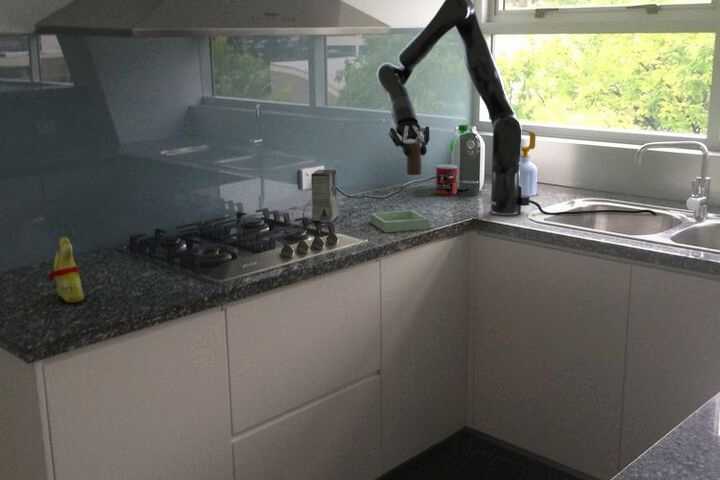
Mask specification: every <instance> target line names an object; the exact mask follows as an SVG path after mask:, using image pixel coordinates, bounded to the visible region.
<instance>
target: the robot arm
mask: <svg viewBox="0 0 720 480" xmlns="http://www.w3.org/2000/svg"><path fill="white" fill-rule="evenodd" d="M453 28H455V29H456V32H457V34H458V36H459V39H460V41H461V42H460V43H461V46H462V52H463V57H464V62H465V63H464V64H465V65H466V69H467V72H468V74H469V77H470V79H471V81H472V83H473V86H474V87H475V90H476V91H477V93H478V95H479V96H480V98H481V100H482V101H483V104H484V105H485V108H486V109H487V112H488V115H489V118H490V122H491V125H492V154H491V193H490V200H489V203H490V214H492V215H495V216H505V217H506V216H515V215H521V213H522V206H523V207H524V206H525V207H526V206H530V204H533V205H534V206H536V207H537V208H538V210H539V212H540V213H542V214H544V215H550V216H559V215H580V214H582V215H583V214H599V213H602V214H603V213H604V214H605V213H619V214H641V213H642V214H643V213H650V214H652V215H653V216H658V215H657V213H656V212H655V211H653V210H651V209H639V210H627V209H626V210H625V209H597V210H596V209H594V210H579V211H577V210H576V211H558V212H556V211H555V212H549V211H545V210H543V208H542V206H541V205H540V204H539V202H537V201H534V200H531V199H530V196H528V197H527V196H525V195H521V191H522V186H521V185H519V178H520V161H521V155H522V149H521V147H522V135H523V134H522V133H523V131H522V130H523V128H522V124H521V122H520V120H519V118H518V116H517V115H516V113H515V111H514V110H513V108H512V106H511V104H510V102H509V99H508V98H507V94H506V91H505V87H504V83H503V80H502V76H501V73H500V70H499V67H498V65H497V63H496V60H495V57H494V55H493V53H492V52H491V51H492V50H491V49H490V47H489V45H488V42H487V40H486V38H485V36H484V34H483V32H482V29H481V26H480V23H479V19H478V16H477V13H476V9H475V7H474V3H473V1H472V0H444V2H443V3H442V4H441V6H440V8H438V11H436V13H435V15H434V16H433V17H432V19H430V21H429V22H428V23H427V24H426V26H425V27H424V28H423V29H422V30H421V31H420V32H419V33H418V34H417V35H416V36H415V37H414V38H412V40H411V41H410V42H409V43H408V44H407V45H405V47H404V48H403V49H402V50H400V52H399V54H398V55H397V60H398V61H399V63H400V66H399V67H398V66H396V65H394V64H392V63H390V62H384V63H382V64H380V65H379V67H378V68H377V71H376V77H377V81H378V84H379V86H380V87H381V89H382V90H383V92H384V93H385V95H386V96H387V101H388V103H389V107H390V112H391V116H392V119H393V122H394V125H395V128H393V127H391V128H390V129H389V132H388V135H389V136H388V137H390V139H391V141H392V143H393V144H394V146H395V147H400V148H402V152H403V154H404V156H406V157H407V156H409V155H410V151H409V147H408V144H407V143H408V142H407V140H413V142H420V143H422V157H423V156H425V155H426V154H427V152H428V149H427V146H428V144H429V141H430V127H429V126H425V127H423V126H421V125H420V124H419V120H418V117H417V114H416V110H415V107H414V105H413V102H412V100H411V98H410V95H409V91H408V89H407V88H406V86H405V85H406V84H407V82H408V80H409V79H410V77H411V76H412V73H413V72H414V70H415V68H416V67H417V66H418V65H419V64H420V63H421V62H422V61H423V60H424V59H425V58H426V57H427V56H428V54H430V52H431V51H432V50H433V48H434V47H435V46H436V44H437V43H438V42H439V41H440V40H441V39H442V38H443V37H444V36H445V35H446V34H447V33H448V32H450V31H451V30H453ZM400 137H401V138H400Z"/></svg>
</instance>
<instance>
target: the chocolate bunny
mask: <svg viewBox="0 0 720 480" xmlns="http://www.w3.org/2000/svg"><path fill="white" fill-rule="evenodd" d="M74 259H75V258H74V256H73V245H72V243H71V241H70V239H69V238H68V237H67V236H63V237H62V236H61V238H60V239H59V243H58V249H57V251H56V253H55V256H54V260H53V270H51V271H50V274H49V275H48V280H49V282H52V281H53V280H55V283H56V284H55V285H56V289H57V292H56V293H57V294H58V296H59V297H60V298H62V299H63V300H64V301H65V302H66V303H67V304H76V303H80V302H81V301H83V300H84V298H85V295H84V291H83V288H82V281H81V277H80V273H79V272H80V270H79V266H77V264H76V262H75V260H74Z"/></svg>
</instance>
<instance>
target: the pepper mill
mask: <svg viewBox="0 0 720 480" xmlns="http://www.w3.org/2000/svg"><path fill="white" fill-rule="evenodd" d="M406 144H408V147H409V151H410V155H409V156H406V175H409V176H418V175H419V176H420V175H422V173H423V172H422V170H423V169H422V166H423V164H422V162H423V161H422V160H423V159H422V157H423V156H422V143H420V142H415V141H411V142H410V141H409V142H406Z"/></svg>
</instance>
